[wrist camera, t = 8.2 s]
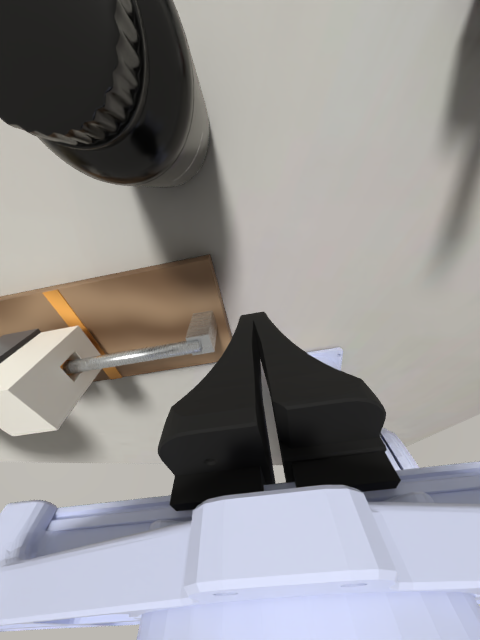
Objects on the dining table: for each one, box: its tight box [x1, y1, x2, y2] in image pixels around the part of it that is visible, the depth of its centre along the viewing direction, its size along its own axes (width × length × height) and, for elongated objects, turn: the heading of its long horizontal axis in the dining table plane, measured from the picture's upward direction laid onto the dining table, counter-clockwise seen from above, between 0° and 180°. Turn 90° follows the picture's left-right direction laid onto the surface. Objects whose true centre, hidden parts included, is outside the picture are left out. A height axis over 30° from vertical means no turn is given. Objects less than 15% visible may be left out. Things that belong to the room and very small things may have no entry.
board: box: [0, 254, 232, 382], centre depth 23 cm, size 12×24×2 cm, turn 101°
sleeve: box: [0, 326, 101, 436], centre depth 18 cm, size 5×4×8 cm
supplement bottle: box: [0, 0, 209, 187], centre depth 9 cm, size 7×7×12 cm
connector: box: [0, 329, 41, 363], centre depth 20 cm, size 5×4×6 cm
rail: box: [60, 310, 217, 375], centre depth 20 cm, size 2×20×5 cm, turn 101°
